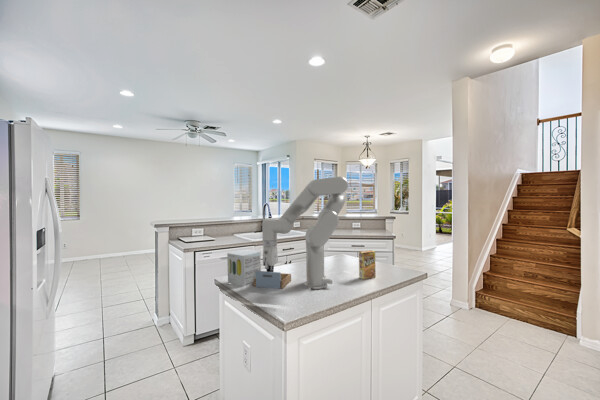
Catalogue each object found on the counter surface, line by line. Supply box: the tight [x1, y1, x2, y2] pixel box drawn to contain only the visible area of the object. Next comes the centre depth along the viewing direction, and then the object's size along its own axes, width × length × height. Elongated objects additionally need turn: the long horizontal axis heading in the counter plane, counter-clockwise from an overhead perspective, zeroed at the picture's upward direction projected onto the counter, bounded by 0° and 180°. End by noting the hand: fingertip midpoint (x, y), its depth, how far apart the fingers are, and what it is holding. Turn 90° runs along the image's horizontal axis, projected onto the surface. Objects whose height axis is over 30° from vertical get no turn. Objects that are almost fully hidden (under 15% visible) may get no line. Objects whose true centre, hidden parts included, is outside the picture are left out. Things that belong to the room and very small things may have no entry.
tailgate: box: [255, 270, 282, 290], centre depth 142 cm, size 13×2×8 cm, turn 74°
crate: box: [253, 272, 292, 290], centre depth 149 cm, size 16×14×5 cm
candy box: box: [358, 250, 377, 280], centre depth 161 cm, size 9×4×15 cm, turn 113°
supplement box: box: [226, 248, 262, 288], centre depth 153 cm, size 13×13×18 cm
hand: (270, 277), depth 145 cm, fingers closed
